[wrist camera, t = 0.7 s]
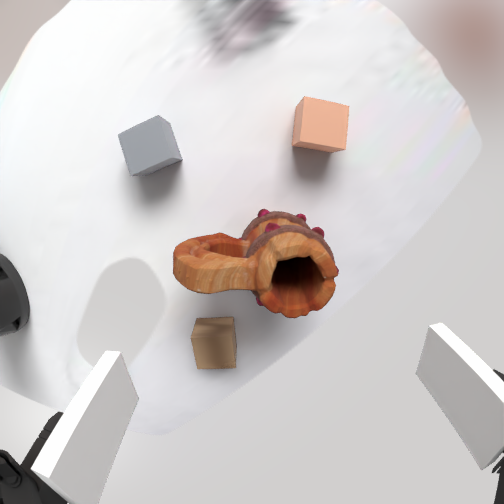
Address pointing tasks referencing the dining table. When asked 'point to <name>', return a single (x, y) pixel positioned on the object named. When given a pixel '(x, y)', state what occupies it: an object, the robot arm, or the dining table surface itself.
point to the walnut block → (214, 343)
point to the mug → (263, 264)
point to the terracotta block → (320, 125)
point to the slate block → (149, 146)
